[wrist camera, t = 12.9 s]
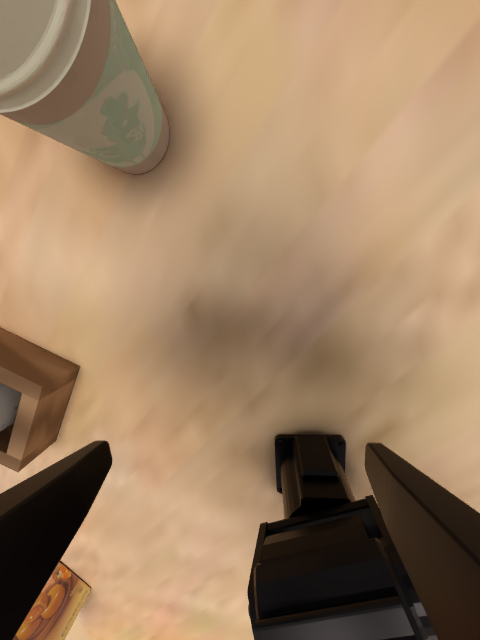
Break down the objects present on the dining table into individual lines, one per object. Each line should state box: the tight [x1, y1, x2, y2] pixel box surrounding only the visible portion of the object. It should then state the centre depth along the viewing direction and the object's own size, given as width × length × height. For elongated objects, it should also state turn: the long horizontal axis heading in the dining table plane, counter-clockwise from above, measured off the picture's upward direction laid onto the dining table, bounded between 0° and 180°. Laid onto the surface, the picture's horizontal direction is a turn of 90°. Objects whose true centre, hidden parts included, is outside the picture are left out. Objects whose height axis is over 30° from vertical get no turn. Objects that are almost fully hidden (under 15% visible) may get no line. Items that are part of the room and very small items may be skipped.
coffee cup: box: [0, 0, 169, 174], centre depth 12 cm, size 8×8×12 cm
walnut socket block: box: [0, 328, 80, 472], centre depth 22 cm, size 10×10×4 cm
